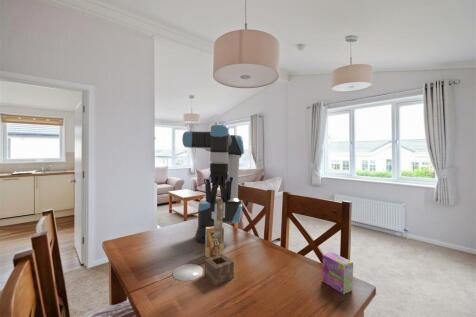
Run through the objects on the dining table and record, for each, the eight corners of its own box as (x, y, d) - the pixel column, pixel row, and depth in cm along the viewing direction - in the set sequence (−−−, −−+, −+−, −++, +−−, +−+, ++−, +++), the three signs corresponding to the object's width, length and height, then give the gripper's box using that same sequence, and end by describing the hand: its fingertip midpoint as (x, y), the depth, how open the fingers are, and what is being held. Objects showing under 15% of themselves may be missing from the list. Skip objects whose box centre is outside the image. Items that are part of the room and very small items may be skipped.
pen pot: (221, 270, 102) (222, 253, 102) (233, 280, 95) (234, 261, 95) (204, 277, 97) (204, 259, 96) (215, 288, 90) (216, 268, 89)
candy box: (221, 253, 119) (221, 225, 118) (223, 257, 115) (224, 227, 114) (204, 255, 116) (205, 226, 115) (206, 259, 112) (207, 229, 111)
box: (321, 281, 96) (322, 254, 95) (330, 277, 99) (331, 251, 98) (343, 295, 87) (344, 265, 86) (352, 290, 90) (353, 262, 89)
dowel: (219, 234, 97) (219, 198, 97) (223, 237, 95) (224, 199, 94) (212, 236, 95) (212, 199, 94) (216, 239, 93) (217, 200, 92)
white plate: (194, 263, 108) (194, 261, 108) (208, 276, 98) (208, 273, 98) (168, 272, 100) (168, 269, 100) (180, 287, 90) (180, 284, 90)
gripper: (229, 161, 102) (228, 212, 103) (197, 162, 91) (196, 219, 92) (240, 162, 96) (239, 216, 97) (206, 163, 85) (205, 224, 87)
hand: (218, 217), depth 95 cm, fingers closed on dowel, 3 cm apart
